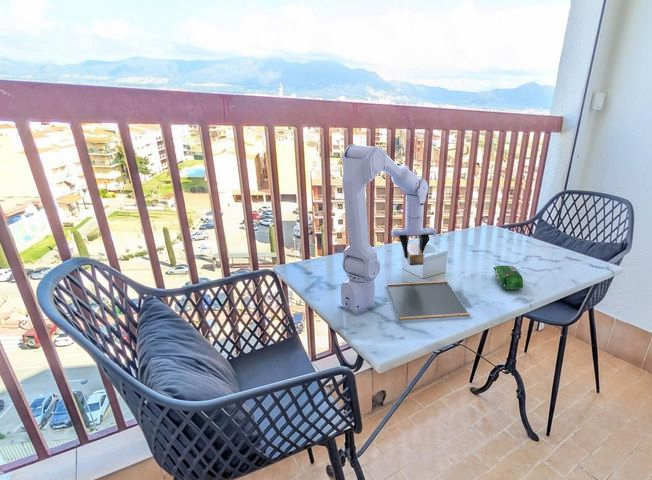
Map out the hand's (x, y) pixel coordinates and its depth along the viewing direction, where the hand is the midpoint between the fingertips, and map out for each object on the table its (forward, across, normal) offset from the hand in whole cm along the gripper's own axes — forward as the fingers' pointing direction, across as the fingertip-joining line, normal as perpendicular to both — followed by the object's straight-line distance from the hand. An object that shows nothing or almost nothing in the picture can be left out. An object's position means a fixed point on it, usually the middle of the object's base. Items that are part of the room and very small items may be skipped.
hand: (413, 256), depth 134 cm
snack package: (+8, -31, +8) cm, 33 cm away
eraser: (+1, 0, 0) cm, 1 cm away
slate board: (+8, -1, +18) cm, 20 cm away
